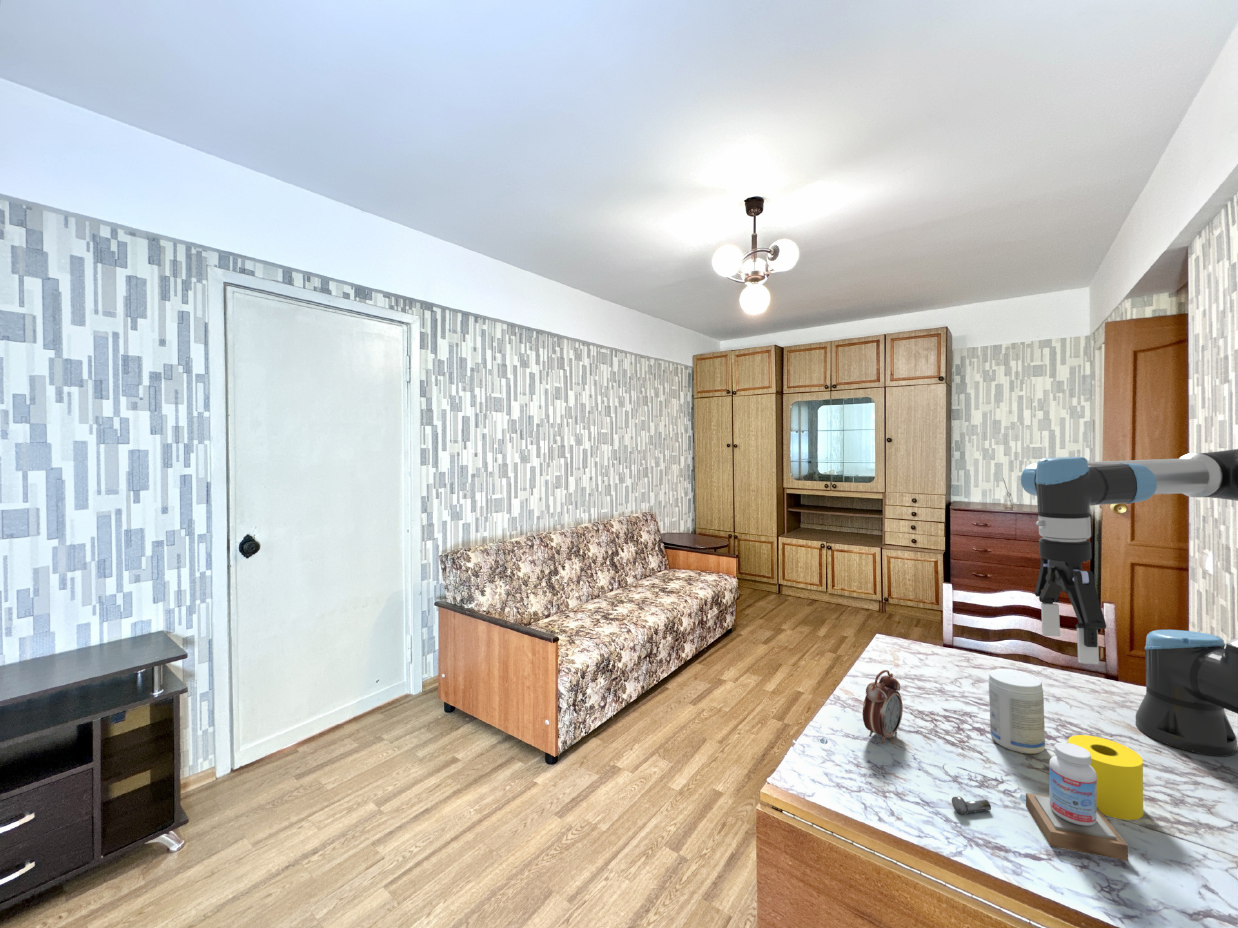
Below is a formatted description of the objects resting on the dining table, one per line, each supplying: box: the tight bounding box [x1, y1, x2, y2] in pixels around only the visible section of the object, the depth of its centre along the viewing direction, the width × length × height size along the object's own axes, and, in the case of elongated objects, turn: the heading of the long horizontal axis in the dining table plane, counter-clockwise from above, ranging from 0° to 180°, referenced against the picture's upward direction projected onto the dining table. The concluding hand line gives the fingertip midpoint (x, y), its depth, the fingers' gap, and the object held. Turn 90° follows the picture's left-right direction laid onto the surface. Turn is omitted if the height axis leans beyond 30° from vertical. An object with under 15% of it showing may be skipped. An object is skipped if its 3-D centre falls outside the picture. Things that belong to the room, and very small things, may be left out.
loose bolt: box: [951, 795, 992, 815], centre depth 93 cm, size 6×3×3 cm, turn 95°
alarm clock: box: [862, 669, 904, 745], centre depth 118 cm, size 11×5×15 cm, turn 128°
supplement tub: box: [988, 668, 1046, 755], centre depth 113 cm, size 10×10×15 cm
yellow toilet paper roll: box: [1067, 734, 1144, 821], centre depth 95 cm, size 10×10×9 cm
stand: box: [1025, 792, 1129, 862], centre depth 88 cm, size 10×10×3 cm
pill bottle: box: [1048, 741, 1097, 826], centre depth 87 cm, size 6×6×11 cm
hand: (1068, 648), depth 99 cm, fingers open, 13 cm apart
